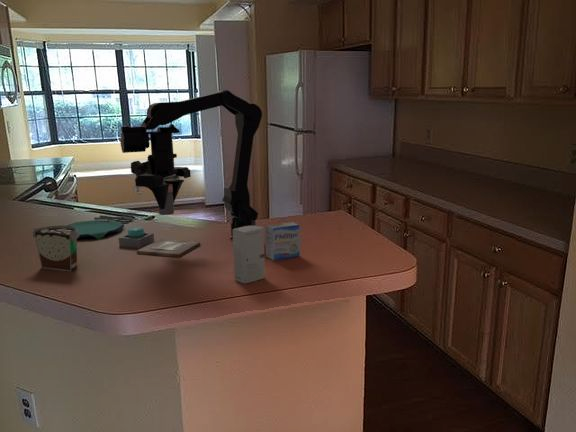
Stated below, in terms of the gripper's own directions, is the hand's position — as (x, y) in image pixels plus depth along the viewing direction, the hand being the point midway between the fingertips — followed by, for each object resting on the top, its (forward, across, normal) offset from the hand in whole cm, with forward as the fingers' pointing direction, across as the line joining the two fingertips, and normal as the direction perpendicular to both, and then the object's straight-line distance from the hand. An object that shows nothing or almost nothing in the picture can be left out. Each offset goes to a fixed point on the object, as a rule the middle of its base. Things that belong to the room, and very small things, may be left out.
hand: (166, 207), depth 136 cm
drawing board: (+12, 0, 0) cm, 12 cm away
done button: (+10, -2, -12) cm, 16 cm away
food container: (+12, +20, -18) cm, 30 cm away
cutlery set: (+13, -15, -36) cm, 41 cm away
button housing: (+12, -2, -12) cm, 17 cm away
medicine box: (+12, -2, +33) cm, 35 cm away
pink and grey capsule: (+2, 0, 0) cm, 2 cm away
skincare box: (+12, +16, +31) cm, 37 cm away
